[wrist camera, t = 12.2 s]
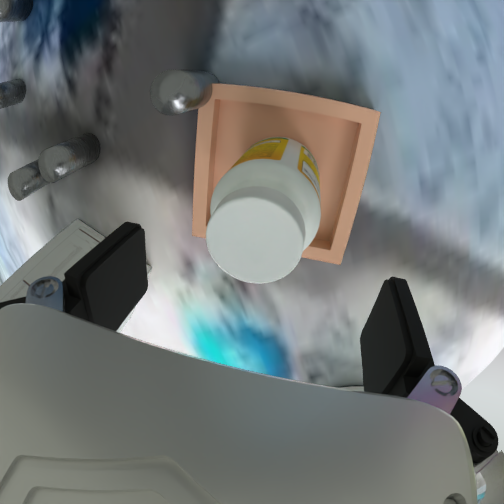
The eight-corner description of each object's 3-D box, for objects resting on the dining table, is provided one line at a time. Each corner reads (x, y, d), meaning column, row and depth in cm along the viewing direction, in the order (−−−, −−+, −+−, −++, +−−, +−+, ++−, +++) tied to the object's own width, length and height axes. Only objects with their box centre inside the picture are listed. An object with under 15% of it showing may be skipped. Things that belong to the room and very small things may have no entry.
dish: (374, 109, 17) (380, 112, 16) (338, 251, 23) (340, 264, 22) (209, 82, 18) (200, 82, 17) (200, 225, 24) (192, 235, 22)
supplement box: (66, 275, 31) (-22, 379, 17) (76, 215, 26) (-49, 329, 12) (131, 320, 32) (58, 444, 18) (155, 267, 27) (53, 421, 13)
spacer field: (243, -71, 11) (225, -103, 7) (211, 201, 23) (187, 231, 19) (22, -14, 13) (-14, -15, 9) (18, 176, 25) (-15, 194, 21)
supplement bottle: (332, 158, 19) (349, 221, 11) (296, 222, 22) (284, 314, 14) (258, 121, 19) (215, 155, 11) (228, 189, 21) (176, 264, 13)
